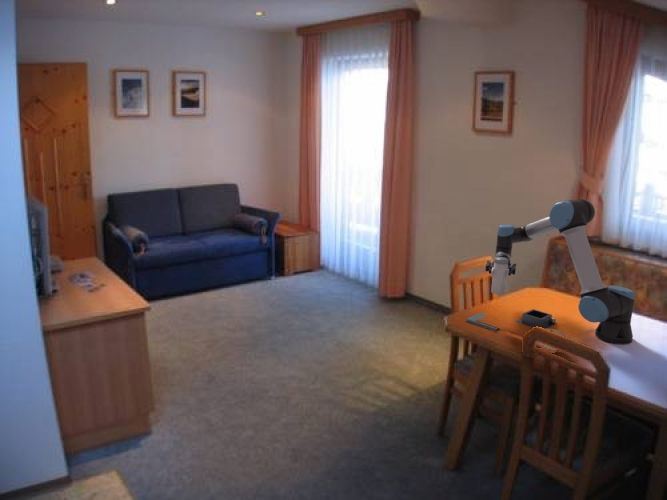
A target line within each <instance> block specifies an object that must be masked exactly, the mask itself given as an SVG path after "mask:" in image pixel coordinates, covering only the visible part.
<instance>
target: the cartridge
mask: <svg viewBox="0 0 667 500" xmlns="http://www.w3.org/2000/svg"><path fill="white" fill-rule="evenodd" d="M494 258H495V259H493V261H494V270H493V276H492V278H491V279H492V281H491V282H492V283H491V289H490V292H491V293H492V294H494V295H505V294H506V285H507V284H506V283H507V279H506V274H507V268H508V261H509V259H507V258H504V257H495V256H494Z"/></svg>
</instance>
